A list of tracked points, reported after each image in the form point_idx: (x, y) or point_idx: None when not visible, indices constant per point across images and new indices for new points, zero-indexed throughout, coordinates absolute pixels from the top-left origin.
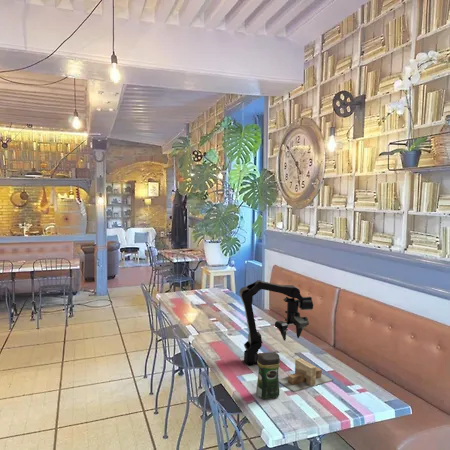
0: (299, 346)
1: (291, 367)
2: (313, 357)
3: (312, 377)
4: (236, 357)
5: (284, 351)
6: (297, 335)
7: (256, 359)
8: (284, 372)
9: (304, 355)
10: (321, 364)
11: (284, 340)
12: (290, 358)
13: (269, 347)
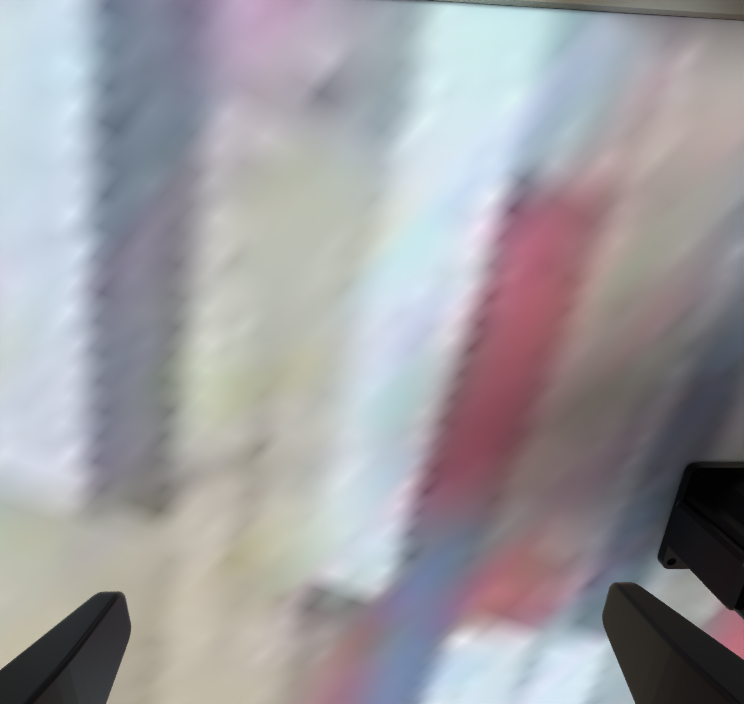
0: (5, 614)
1: (465, 240)
2: (9, 335)
3: None
4: (725, 633)
5: (245, 580)
6: (93, 694)
7: (719, 511)
8: (640, 171)
9: (90, 425)
10: (26, 108)
11: (635, 595)
12: (302, 431)
13: (322, 687)
